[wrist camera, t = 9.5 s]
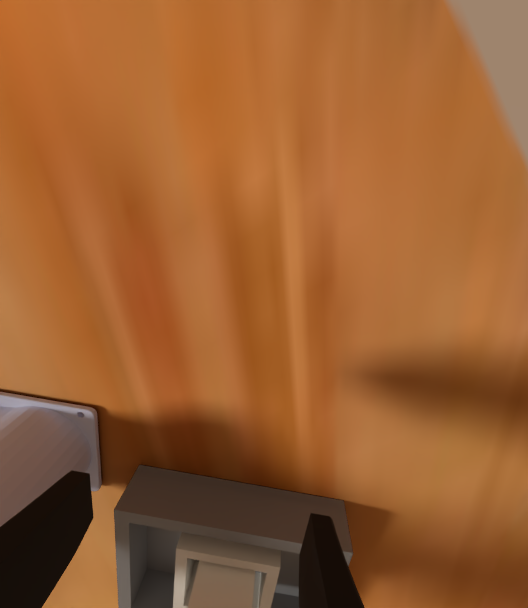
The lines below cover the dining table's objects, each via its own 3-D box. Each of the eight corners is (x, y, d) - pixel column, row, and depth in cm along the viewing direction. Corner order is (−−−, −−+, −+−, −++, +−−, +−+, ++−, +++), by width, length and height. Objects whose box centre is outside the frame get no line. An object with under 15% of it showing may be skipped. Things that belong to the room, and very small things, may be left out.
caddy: (140, 563, 27) (117, 617, 24) (139, 464, 23) (112, 512, 20) (313, 595, 27) (317, 656, 23) (343, 500, 23) (353, 556, 19)
